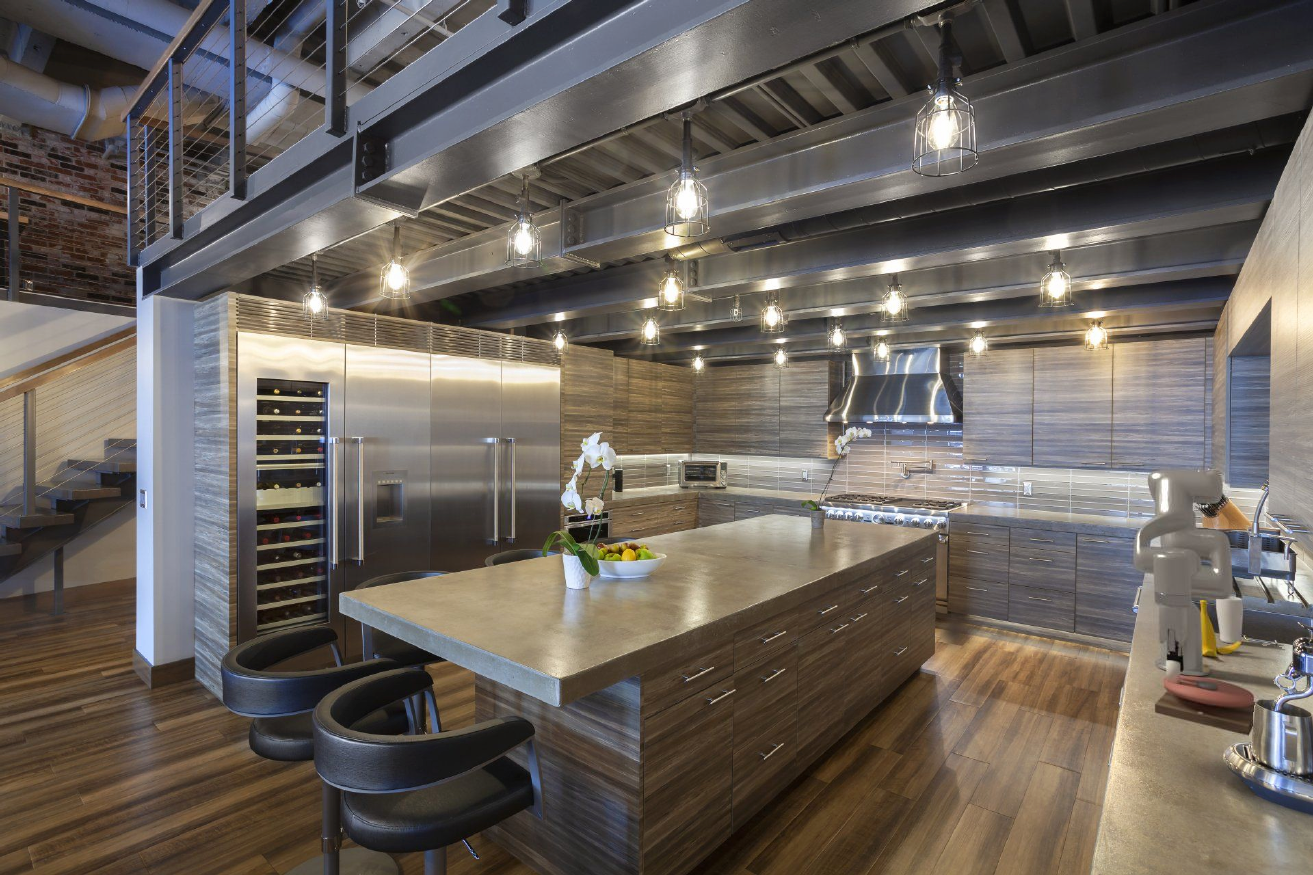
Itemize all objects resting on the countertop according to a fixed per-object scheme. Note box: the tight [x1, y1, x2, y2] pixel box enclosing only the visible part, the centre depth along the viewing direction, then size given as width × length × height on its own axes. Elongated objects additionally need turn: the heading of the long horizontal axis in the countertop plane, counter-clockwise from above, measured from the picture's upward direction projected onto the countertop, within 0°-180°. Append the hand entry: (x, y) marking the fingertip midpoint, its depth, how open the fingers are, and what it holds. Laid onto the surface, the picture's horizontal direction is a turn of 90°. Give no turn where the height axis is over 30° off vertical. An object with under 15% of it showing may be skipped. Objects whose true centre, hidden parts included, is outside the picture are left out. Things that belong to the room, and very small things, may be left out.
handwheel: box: [1163, 660, 1255, 707], centre depth 157 cm, size 17×17×6 cm
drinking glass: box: [1215, 595, 1244, 645], centre depth 212 cm, size 7×7×15 cm
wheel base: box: [1154, 690, 1256, 736], centre depth 157 cm, size 20×17×4 cm
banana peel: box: [1199, 599, 1243, 658], centre depth 201 cm, size 16×19×17 cm
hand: (1175, 669), depth 164 cm, fingers closed
